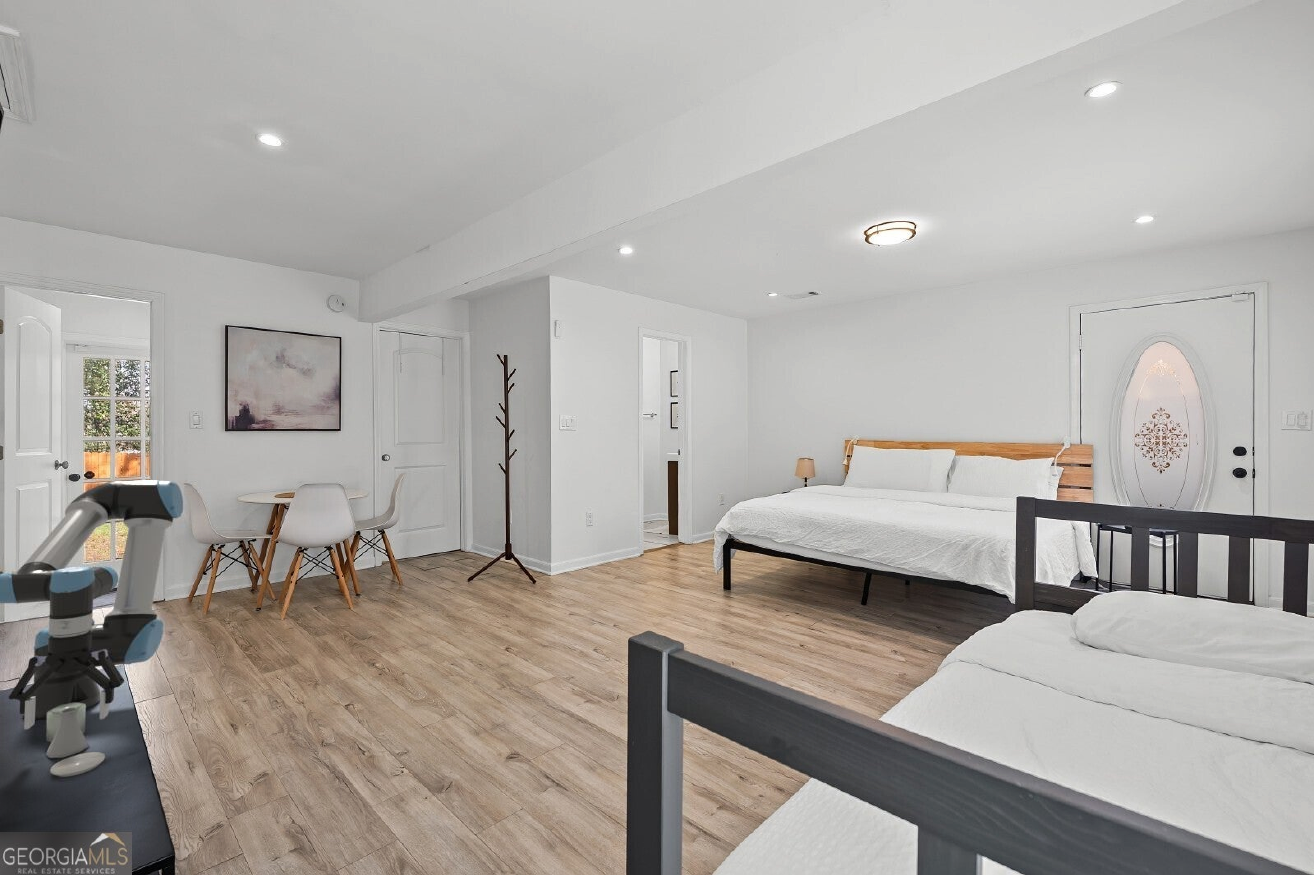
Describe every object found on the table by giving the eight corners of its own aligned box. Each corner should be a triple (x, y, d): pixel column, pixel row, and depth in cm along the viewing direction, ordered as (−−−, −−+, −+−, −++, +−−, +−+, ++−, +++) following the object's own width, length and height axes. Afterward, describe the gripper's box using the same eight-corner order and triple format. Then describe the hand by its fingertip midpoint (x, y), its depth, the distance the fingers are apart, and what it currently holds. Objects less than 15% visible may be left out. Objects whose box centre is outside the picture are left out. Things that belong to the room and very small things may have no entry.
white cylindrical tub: (54, 731, 153) (55, 703, 153) (90, 726, 156) (90, 699, 156) (40, 744, 147) (40, 715, 147) (77, 739, 150) (78, 710, 150)
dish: (61, 761, 140) (62, 756, 140) (111, 754, 143) (111, 749, 143) (41, 782, 132) (41, 777, 132) (94, 774, 135) (95, 768, 135)
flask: (61, 761, 140) (62, 718, 140) (37, 757, 141) (38, 715, 141) (96, 745, 147) (97, 705, 147) (73, 742, 149) (74, 701, 149)
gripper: (-10, 643, 136) (-14, 738, 135) (130, 631, 146) (127, 719, 146) (9, 634, 143) (5, 724, 142) (141, 623, 153) (139, 707, 152)
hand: (67, 721), depth 144 cm, fingers open, 13 cm apart
